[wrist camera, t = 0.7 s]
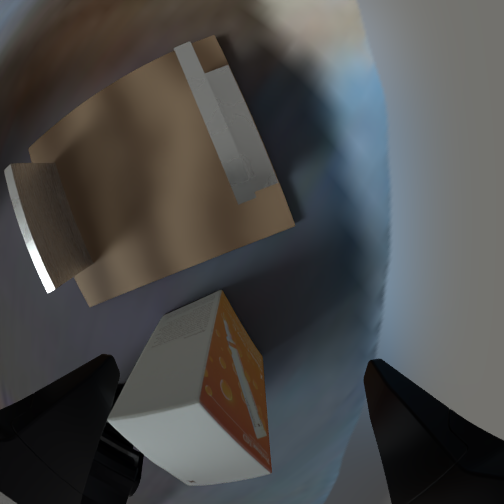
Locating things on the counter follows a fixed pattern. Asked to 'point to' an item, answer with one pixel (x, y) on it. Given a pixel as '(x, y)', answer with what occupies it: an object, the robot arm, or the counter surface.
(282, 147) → the counter surface
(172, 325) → the small box
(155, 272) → the shelf board
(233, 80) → the bookends
